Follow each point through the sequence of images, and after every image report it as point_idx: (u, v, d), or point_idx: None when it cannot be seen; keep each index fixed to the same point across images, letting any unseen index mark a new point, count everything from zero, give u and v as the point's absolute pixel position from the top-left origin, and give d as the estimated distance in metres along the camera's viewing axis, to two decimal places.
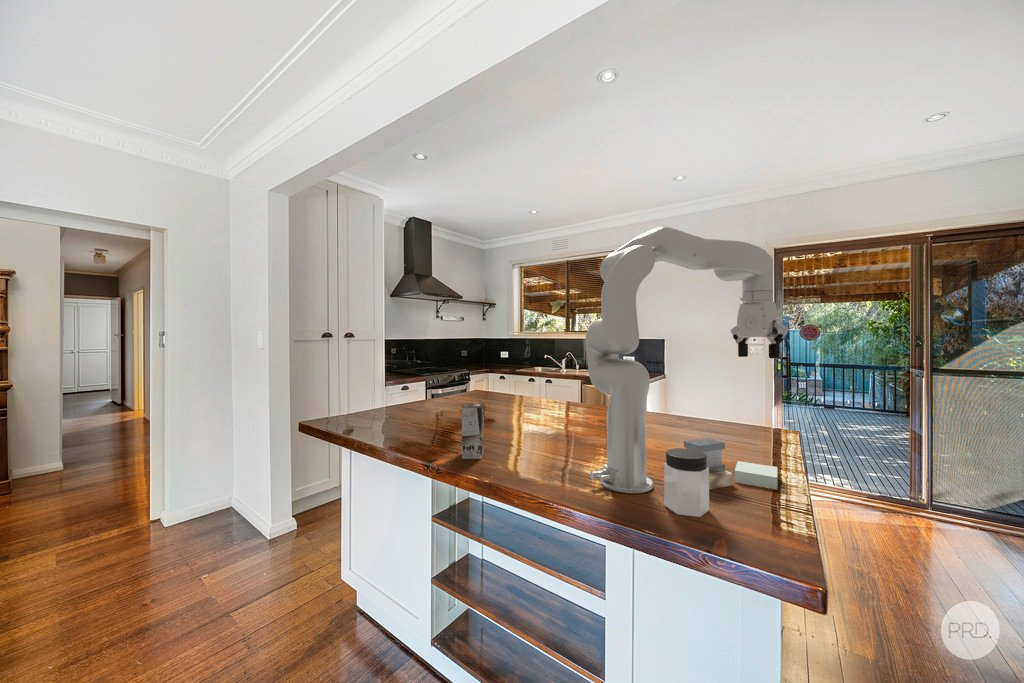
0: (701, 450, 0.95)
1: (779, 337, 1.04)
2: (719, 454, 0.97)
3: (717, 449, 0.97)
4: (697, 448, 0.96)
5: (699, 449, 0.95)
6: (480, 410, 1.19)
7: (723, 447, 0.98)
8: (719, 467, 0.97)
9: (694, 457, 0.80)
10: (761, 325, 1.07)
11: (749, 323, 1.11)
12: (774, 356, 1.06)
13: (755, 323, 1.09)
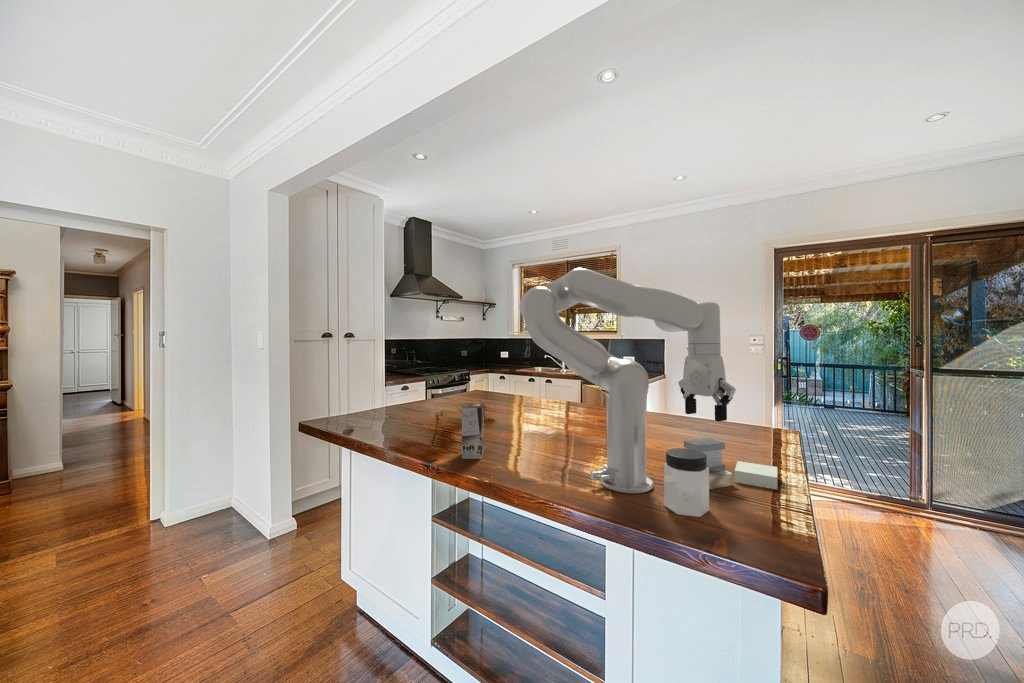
0: (701, 450, 0.95)
1: (725, 398, 0.92)
2: (719, 454, 0.97)
3: (717, 449, 0.97)
4: (697, 448, 0.96)
5: (699, 449, 0.95)
6: (480, 410, 1.19)
7: (723, 447, 0.98)
8: (719, 467, 0.97)
9: (694, 457, 0.80)
10: (706, 383, 0.95)
11: (694, 379, 0.98)
12: (721, 418, 0.94)
13: (700, 380, 0.96)
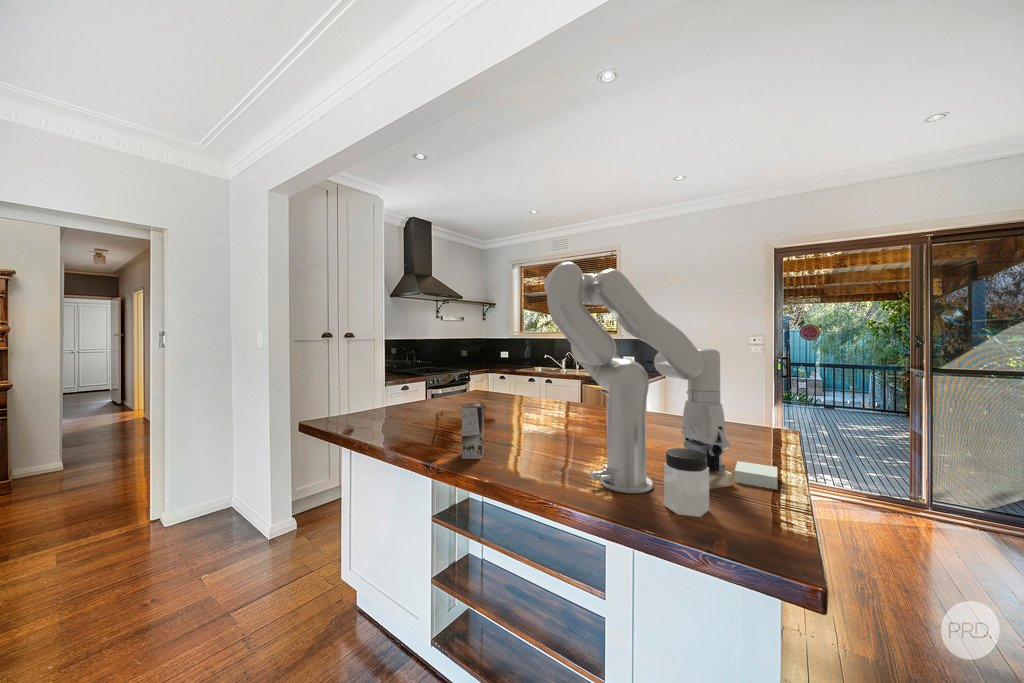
0: (701, 450, 0.95)
1: (717, 450, 0.94)
2: None
3: None
4: (697, 448, 0.96)
5: (699, 449, 0.95)
6: (480, 410, 1.19)
7: None
8: (719, 467, 0.97)
9: (694, 457, 0.80)
10: (706, 431, 0.95)
11: (694, 425, 0.98)
12: (713, 469, 0.96)
13: (700, 427, 0.97)
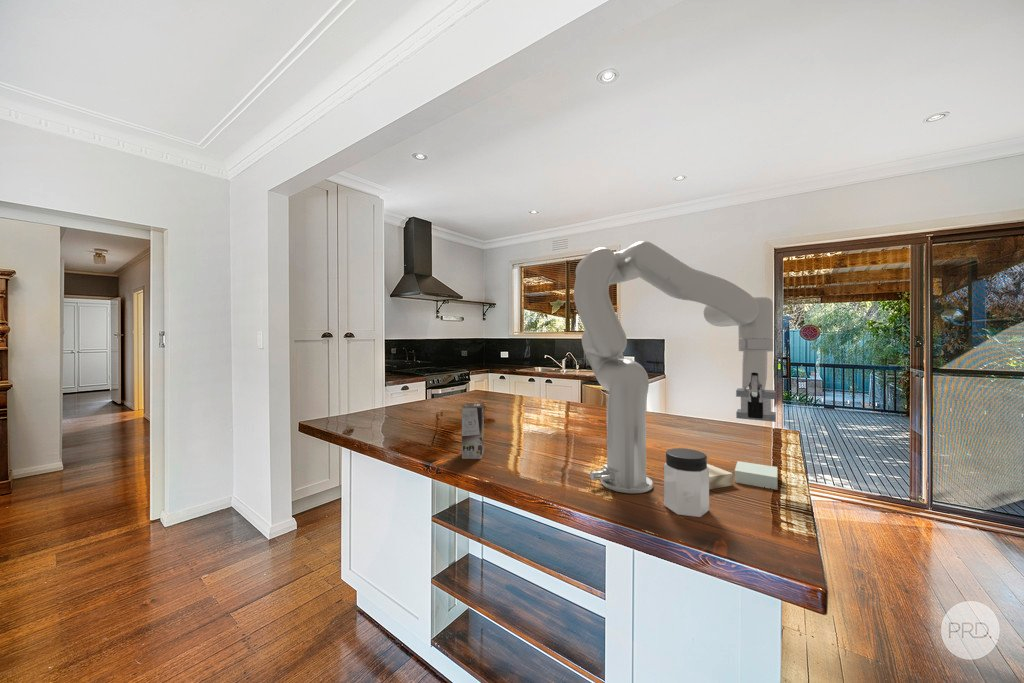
0: (740, 395, 0.99)
1: (750, 396, 0.95)
2: (766, 403, 0.96)
3: (763, 397, 0.96)
4: (736, 393, 1.00)
5: (737, 394, 0.99)
6: (480, 410, 1.19)
7: (773, 397, 0.95)
8: (767, 417, 0.96)
9: (694, 457, 0.80)
10: (742, 377, 0.98)
11: None
12: (754, 415, 0.97)
13: None
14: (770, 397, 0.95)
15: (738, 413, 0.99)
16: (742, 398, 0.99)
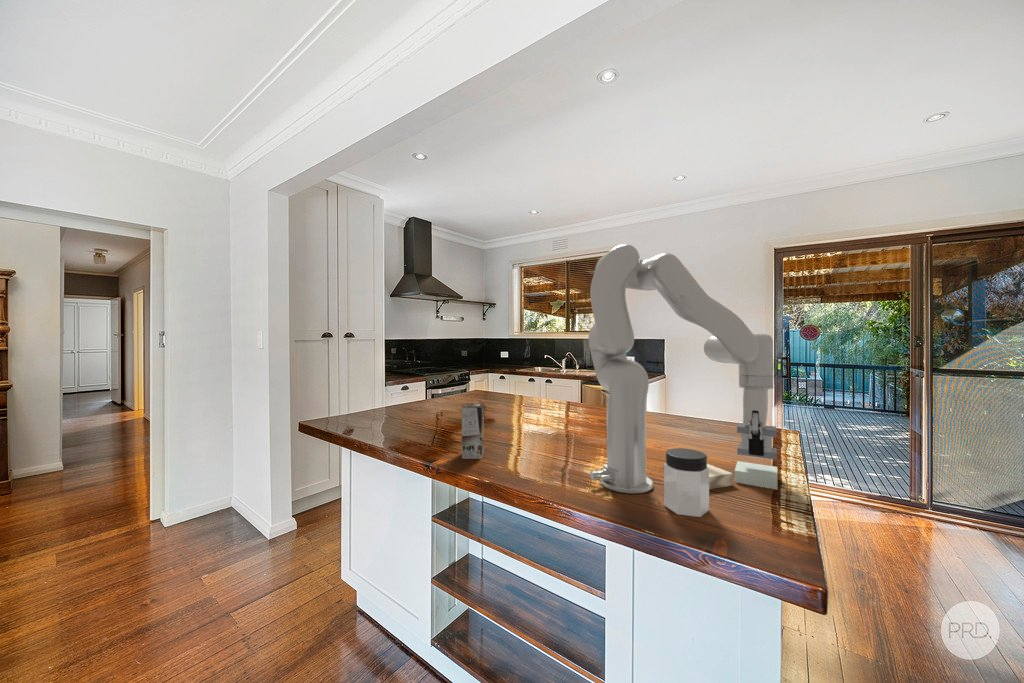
0: (741, 431, 0.99)
1: (751, 433, 0.96)
2: (767, 440, 0.96)
3: (764, 435, 0.96)
4: (737, 429, 1.00)
5: (738, 430, 0.99)
6: (480, 410, 1.19)
7: (774, 435, 0.95)
8: (768, 454, 0.96)
9: (694, 457, 0.80)
10: None
11: None
12: (755, 452, 0.97)
13: None
14: (771, 435, 0.95)
15: (739, 449, 0.99)
16: (743, 435, 0.99)
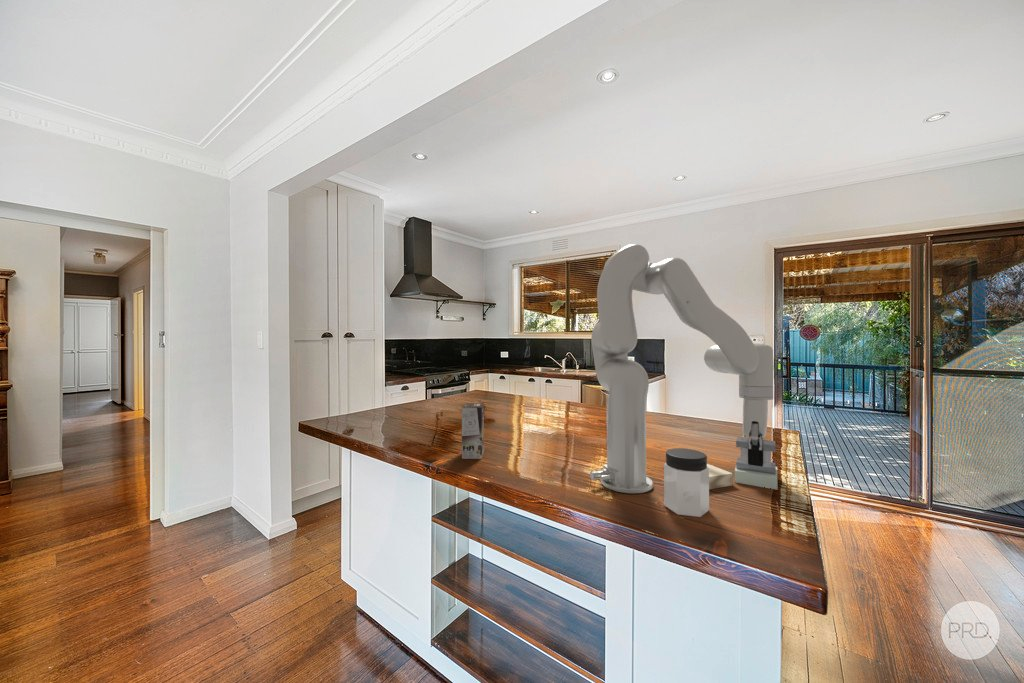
0: (740, 446, 0.99)
1: (750, 443, 0.95)
2: (766, 455, 0.96)
3: (763, 450, 0.96)
4: (736, 443, 1.00)
5: (737, 444, 0.99)
6: (480, 410, 1.19)
7: (773, 450, 0.95)
8: (767, 469, 0.96)
9: (694, 457, 0.80)
10: None
11: None
12: (754, 463, 0.96)
13: None
14: (770, 450, 0.95)
15: (738, 464, 0.99)
16: (742, 449, 0.99)
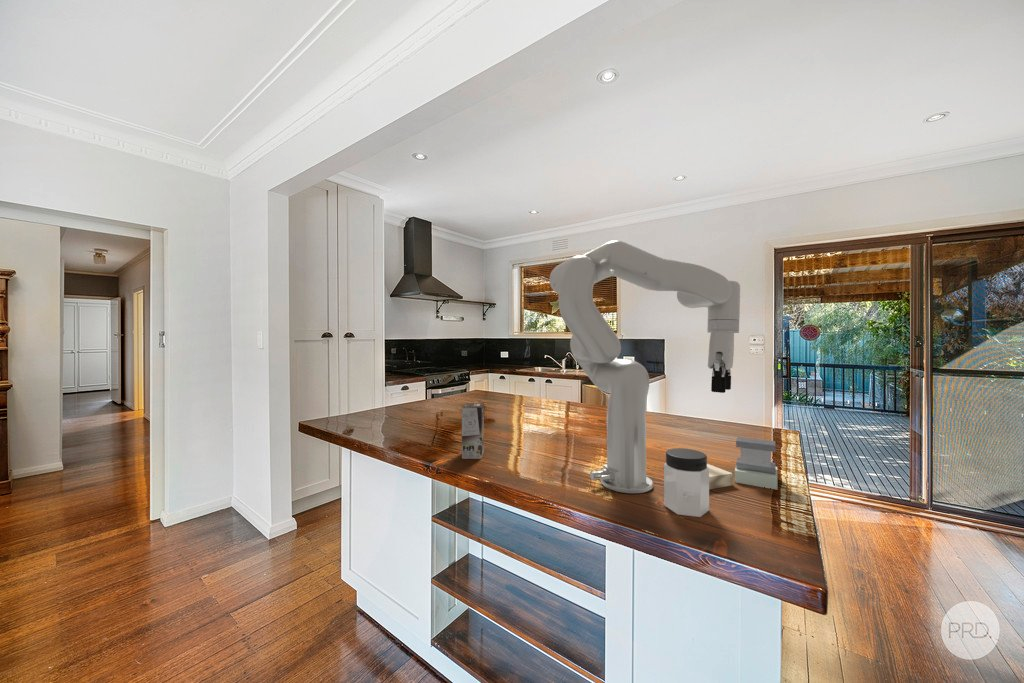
0: (740, 446, 0.99)
1: (713, 370, 0.98)
2: (766, 455, 0.96)
3: (763, 450, 0.96)
4: (736, 443, 1.00)
5: (737, 444, 0.99)
6: (480, 410, 1.19)
7: (773, 450, 0.95)
8: (767, 469, 0.96)
9: (694, 457, 0.80)
10: None
11: None
12: (717, 390, 1.00)
13: None
14: (770, 450, 0.95)
15: (738, 464, 0.99)
16: (742, 449, 0.99)
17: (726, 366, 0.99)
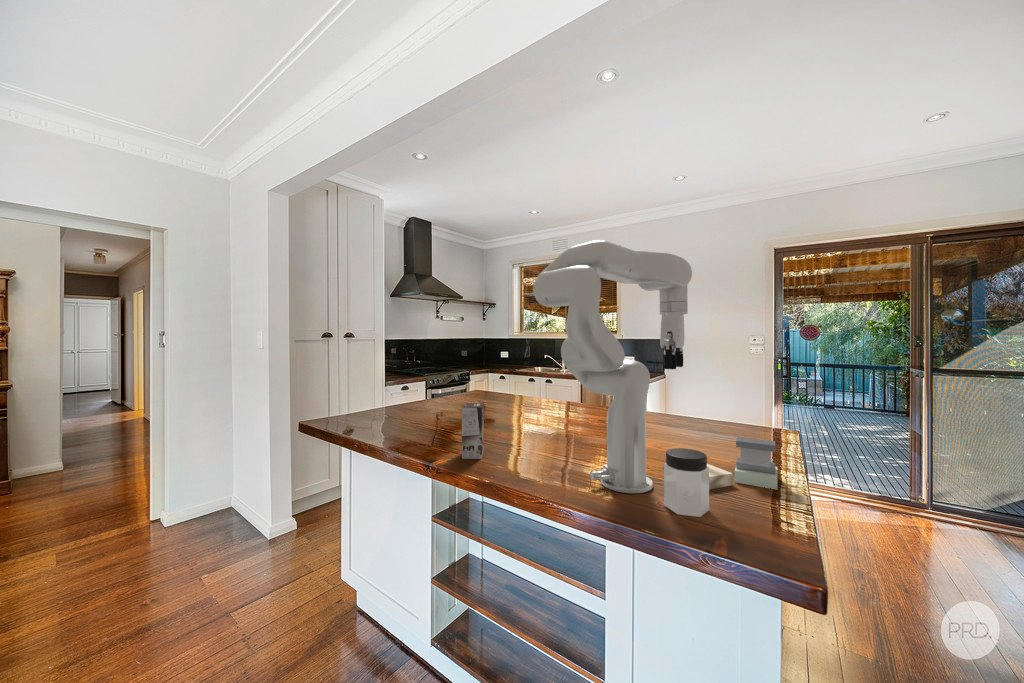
0: (740, 446, 0.99)
1: (664, 348, 1.06)
2: (766, 455, 0.96)
3: (763, 450, 0.96)
4: (736, 443, 1.00)
5: (737, 444, 0.99)
6: (480, 410, 1.19)
7: (773, 450, 0.95)
8: (767, 469, 0.96)
9: (694, 457, 0.80)
10: None
11: None
12: (668, 367, 1.08)
13: None
14: (770, 450, 0.95)
15: (738, 464, 0.99)
16: (742, 449, 0.99)
17: (676, 344, 1.07)
